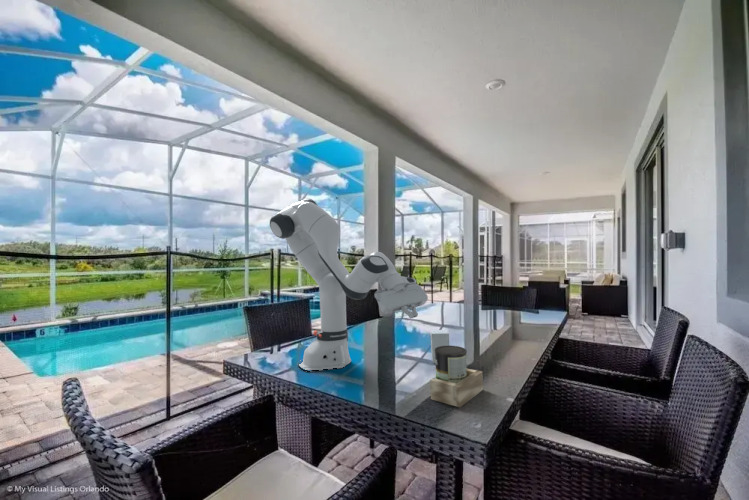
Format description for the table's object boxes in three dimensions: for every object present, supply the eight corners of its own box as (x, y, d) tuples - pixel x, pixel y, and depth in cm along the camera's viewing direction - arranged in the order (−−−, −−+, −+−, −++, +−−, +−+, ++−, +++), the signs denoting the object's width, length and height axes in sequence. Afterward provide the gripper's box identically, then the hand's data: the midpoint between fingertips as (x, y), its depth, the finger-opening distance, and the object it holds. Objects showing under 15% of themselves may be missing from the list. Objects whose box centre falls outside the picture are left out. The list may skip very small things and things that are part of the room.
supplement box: (448, 358, 151) (447, 329, 151) (450, 363, 143) (449, 333, 144) (431, 358, 151) (430, 329, 152) (432, 363, 144) (431, 333, 144)
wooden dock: (430, 399, 109) (430, 380, 109) (455, 383, 122) (455, 366, 122) (459, 407, 102) (459, 387, 102) (483, 389, 115) (482, 371, 115)
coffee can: (432, 396, 111) (431, 352, 111) (439, 384, 120) (438, 344, 121) (465, 400, 107) (464, 355, 107) (469, 388, 116) (468, 346, 117)
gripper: (375, 286, 121) (395, 317, 114) (417, 277, 133) (438, 305, 126) (369, 297, 125) (387, 328, 117) (411, 288, 137) (430, 316, 129)
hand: (414, 316), depth 122 cm, fingers closed
